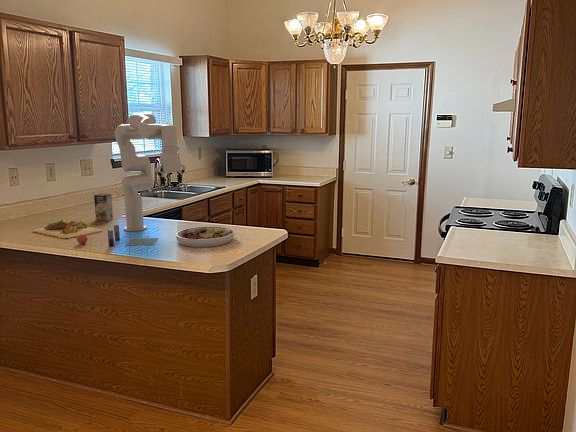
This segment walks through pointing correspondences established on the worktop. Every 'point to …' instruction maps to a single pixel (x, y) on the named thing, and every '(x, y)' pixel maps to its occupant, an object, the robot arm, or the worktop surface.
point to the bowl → (205, 236)
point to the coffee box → (103, 206)
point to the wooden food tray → (67, 229)
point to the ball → (82, 239)
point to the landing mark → (141, 242)
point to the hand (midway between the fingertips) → (171, 183)
